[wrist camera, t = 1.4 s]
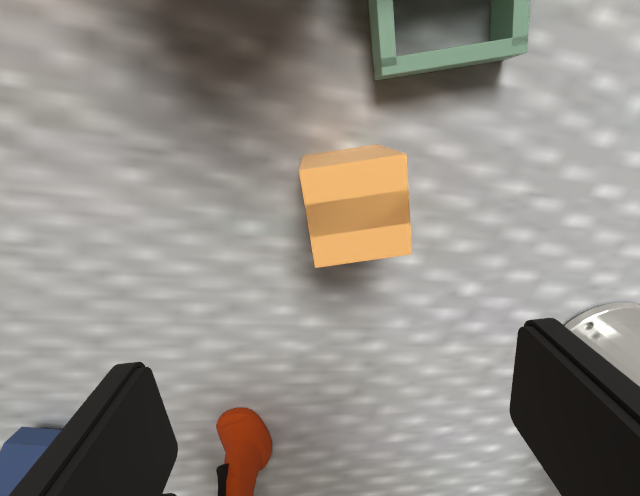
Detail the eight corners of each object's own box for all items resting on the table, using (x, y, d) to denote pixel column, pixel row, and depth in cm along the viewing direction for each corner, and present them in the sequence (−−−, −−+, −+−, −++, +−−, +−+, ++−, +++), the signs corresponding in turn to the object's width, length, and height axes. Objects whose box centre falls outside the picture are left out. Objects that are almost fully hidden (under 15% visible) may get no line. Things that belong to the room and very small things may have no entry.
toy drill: (196, 325, 31) (121, 515, 17) (280, 442, 39) (273, 631, 26) (149, 342, 31) (42, 539, 18) (242, 454, 40) (216, 645, 26)
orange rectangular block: (377, 144, 27) (406, 153, 19) (383, 216, 29) (411, 254, 21) (303, 155, 27) (299, 170, 19) (314, 226, 29) (315, 268, 21)
